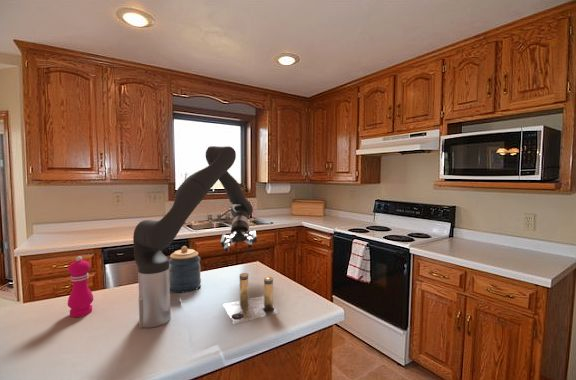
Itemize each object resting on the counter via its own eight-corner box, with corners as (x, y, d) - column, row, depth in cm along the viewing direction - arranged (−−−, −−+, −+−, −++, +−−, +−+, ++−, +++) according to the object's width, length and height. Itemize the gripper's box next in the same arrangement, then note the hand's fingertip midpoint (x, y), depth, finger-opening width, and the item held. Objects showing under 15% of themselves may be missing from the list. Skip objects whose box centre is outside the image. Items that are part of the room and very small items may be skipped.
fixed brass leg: (266, 312, 96) (266, 280, 95) (262, 308, 99) (262, 277, 98) (274, 310, 97) (274, 279, 97) (271, 306, 100) (270, 276, 99)
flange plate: (233, 327, 89) (233, 323, 88) (222, 307, 102) (222, 304, 102) (279, 316, 96) (279, 312, 96) (263, 298, 109) (263, 295, 109)
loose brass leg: (241, 306, 100) (240, 276, 99) (238, 303, 103) (238, 273, 102) (249, 305, 101) (249, 275, 101) (246, 301, 104) (246, 272, 103)
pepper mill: (91, 306, 103) (89, 252, 102) (95, 313, 98) (93, 256, 96) (66, 312, 98) (64, 256, 97) (69, 320, 93) (67, 260, 91)
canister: (200, 279, 129) (200, 241, 128) (201, 290, 116) (200, 248, 115) (170, 283, 124) (169, 243, 123) (167, 295, 112) (166, 251, 111)
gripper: (222, 222, 121) (217, 243, 106) (255, 217, 122) (255, 238, 107) (225, 236, 124) (221, 259, 109) (257, 232, 125) (258, 254, 110)
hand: (238, 248), depth 108 cm, fingers open, 8 cm apart
